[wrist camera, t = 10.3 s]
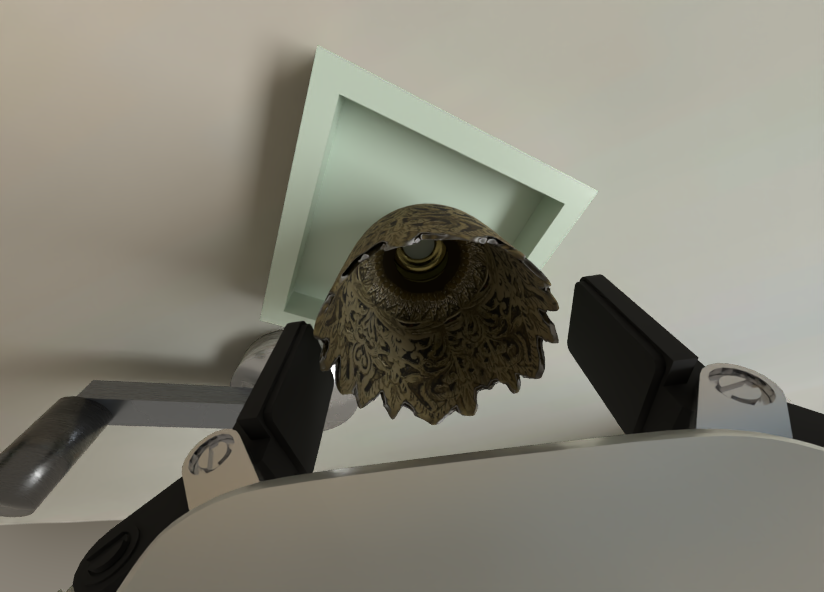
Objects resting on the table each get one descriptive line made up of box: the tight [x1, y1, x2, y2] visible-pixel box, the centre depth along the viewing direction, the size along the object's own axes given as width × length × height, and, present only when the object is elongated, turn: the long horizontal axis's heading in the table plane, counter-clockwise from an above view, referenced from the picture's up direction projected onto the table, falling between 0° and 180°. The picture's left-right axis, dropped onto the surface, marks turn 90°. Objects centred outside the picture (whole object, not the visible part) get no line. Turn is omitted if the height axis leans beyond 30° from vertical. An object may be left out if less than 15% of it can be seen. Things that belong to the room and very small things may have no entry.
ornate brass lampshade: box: [313, 203, 559, 425], centre depth 13 cm, size 8×7×8 cm
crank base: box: [230, 330, 358, 431], centre depth 21 cm, size 8×8×2 cm
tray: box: [260, 45, 598, 329], centre depth 15 cm, size 12×12×2 cm
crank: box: [0, 380, 253, 517], centre depth 16 cm, size 14×4×6 cm, turn 82°
